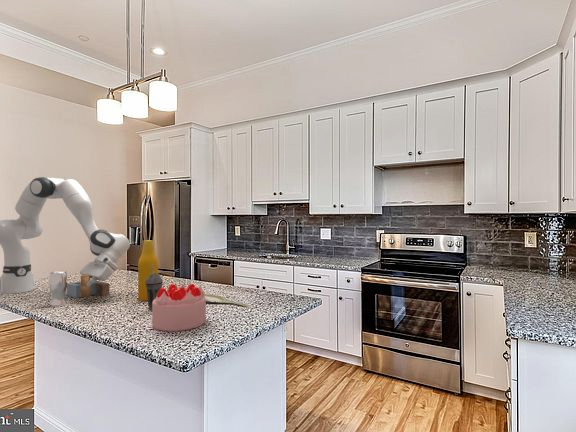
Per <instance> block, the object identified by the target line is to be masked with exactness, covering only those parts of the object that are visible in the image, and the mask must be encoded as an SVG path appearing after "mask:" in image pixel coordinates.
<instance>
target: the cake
mask: <svg viewBox="0 0 576 432" xmlns="http://www.w3.org/2000/svg"><path fill="white" fill-rule="evenodd" d="M205 294H206V293H205V291H204V290H203V289H202V285H201V284H200V285H199V286H195V284H194V283H190V284H189V285H188V286H187V287H186V286H185V285H184V284H182V283H181V287H179V288H178V287H177V285H176V284H175V283H171V284H170V285H169V287H168V288H167V289H166V288H165V286H163V285H162V288H161V289H160V290H159V291H158V293H157V297H156V298H155V299H154V300H153V302H152V310H151V311H152V313H151V315H152V320H151V323H152V327H153V328H154V329H155V330H158V331H162V332H183V331H188V330H192V329H196V328H199V327H201V326H202V325H204V324H205V323H206V319H207V313H206V312H207V310H206V309H207V306H206V305H207V302H206V298H205V297H204V296H205Z"/></svg>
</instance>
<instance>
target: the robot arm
mask: <svg viewBox="0 0 576 432" xmlns="http://www.w3.org/2000/svg"><path fill="white" fill-rule="evenodd" d="M48 199H49V200H54V199H62V200H63V202H64V204H65V206H66V207H67V208H68V210H69V211H70V213H71V214H72V215H73V216H74V218H75V219H76V220H77V222H78V223H79V224H80V226H81V228H82V230H83V231H84V233H85V235H86V237H87V239H88V241H89V250H90V252H91V254H93V255H94V256H97V257H95V258H94V260H93V261H90V262H88V263H87V264H86V265H84V267H82V269H81V270H80V271H79V274H80V276H81V275H90V281H87V282H86V284H85V285H86V286H88V287H89V286H90V285H91V284H93V283H94V282H96V281H100V282H105V281H107V280H108V279H109V278H110V277H111V275H113V273H114V271H117V269H118V268H119V266H118V265H117V263H118V261H119V260H120V259H121V258H123V256H124V255H125V254H126V253H127V252H128V250H129V248H130V246H131V242H130V239H128V237H127V236H126V235H125V234H122V233H112V232H110V231H107V230H105V229H99V227H98V226H97V224H96V222H95V219H94V214H93V213H94V212H93V204H92V201H91V199H90V197H89V195H88V193H87V192H86V190H85V189H84V188H83V186H82V185H81V184H80V183H79V182H78V181H77V180H75V179H72V178H68V179H66V178H60V177H45V176H40V177H35V178H33V179H32V181H30V182H29V183H28V184H27V186H26V187H25V188H24V189H23V191H22V192H21V194H20V197H19V198H18V201H17V202H16V204H15V206H14V209H15V212H16V214H18V215H19V217H18V218H17V219H1V220H0V247H1V248H2V250H3V259H4V262H3V263H4V265H3V267H2V274H1V276H0V295H4V294H5V295H8V294H9V295H10V294H11V295H12V294H19V293H20V294H21V293H27V292H30V291H34V290H37V289H39V286H37V285H36V281H35V274H34V273H33V272H32V264H31V251H30V249H29V248H28V247H25V246H24V245H23V243H22V240H29V239H30V240H31V239H34V238H38V237H40V236H42V233H43V231H44V230H43V229H44V228H43V225H42V223H41V222H40V220H39V218H40V213H41V212H42V210H43V207H44V205H45V203H46V202H47V200H48ZM79 282H80V284H81V281H79Z"/></svg>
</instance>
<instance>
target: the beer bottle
mask: <svg viewBox="0 0 576 432" xmlns="http://www.w3.org/2000/svg"><path fill="white" fill-rule="evenodd" d="M142 243H143V245H142V252H141V255H140V257H139V259H138V262H137V263H138V265H137V269H138V271H137V272H138V273H137V275H138V276H137V280H138V281H137V282H138V283H137V284H138V286H137V287H138V288H137V289H138V290H137V291H138V293H137V299H138V300H139V301H140V302H148V296H147V288H146V284H145V283H146V279H147V277H148V276H149V275H151V274H153V273H152V264H153V270H154V274H158V275H159V260H158V258H157V255H156V253H155V250H154V249H155V248H154V240H150V239H148V240H143V242H142Z"/></svg>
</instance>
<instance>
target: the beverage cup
mask: <svg viewBox="0 0 576 432" xmlns="http://www.w3.org/2000/svg"><path fill="white" fill-rule="evenodd" d="M152 273H153V274H151V275H149V276H148V277H147V279H146V283H145V284H146V288H147V296H148V301H147V305H148V310H150V311H152V302H153V300H154V299H155V298H156V297H157V293H158V291H159V290H160V289H161V288H162V287H163V283H164V282H163V278H162V275H160V274H159V273H158V274H154V270H153V264H152Z"/></svg>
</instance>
